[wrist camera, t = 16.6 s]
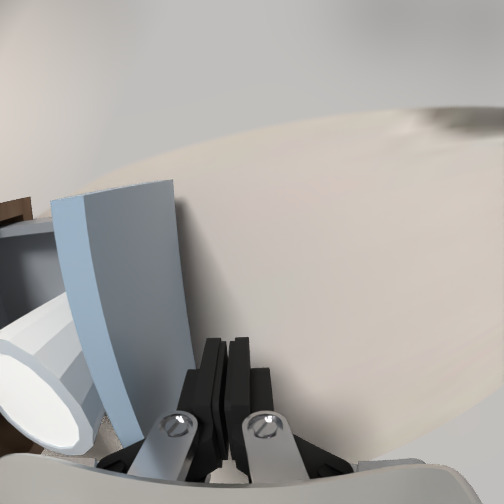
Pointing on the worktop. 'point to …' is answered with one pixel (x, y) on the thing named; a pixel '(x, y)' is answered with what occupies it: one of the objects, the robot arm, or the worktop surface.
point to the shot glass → (49, 380)
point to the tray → (110, 294)
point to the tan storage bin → (3, 432)
